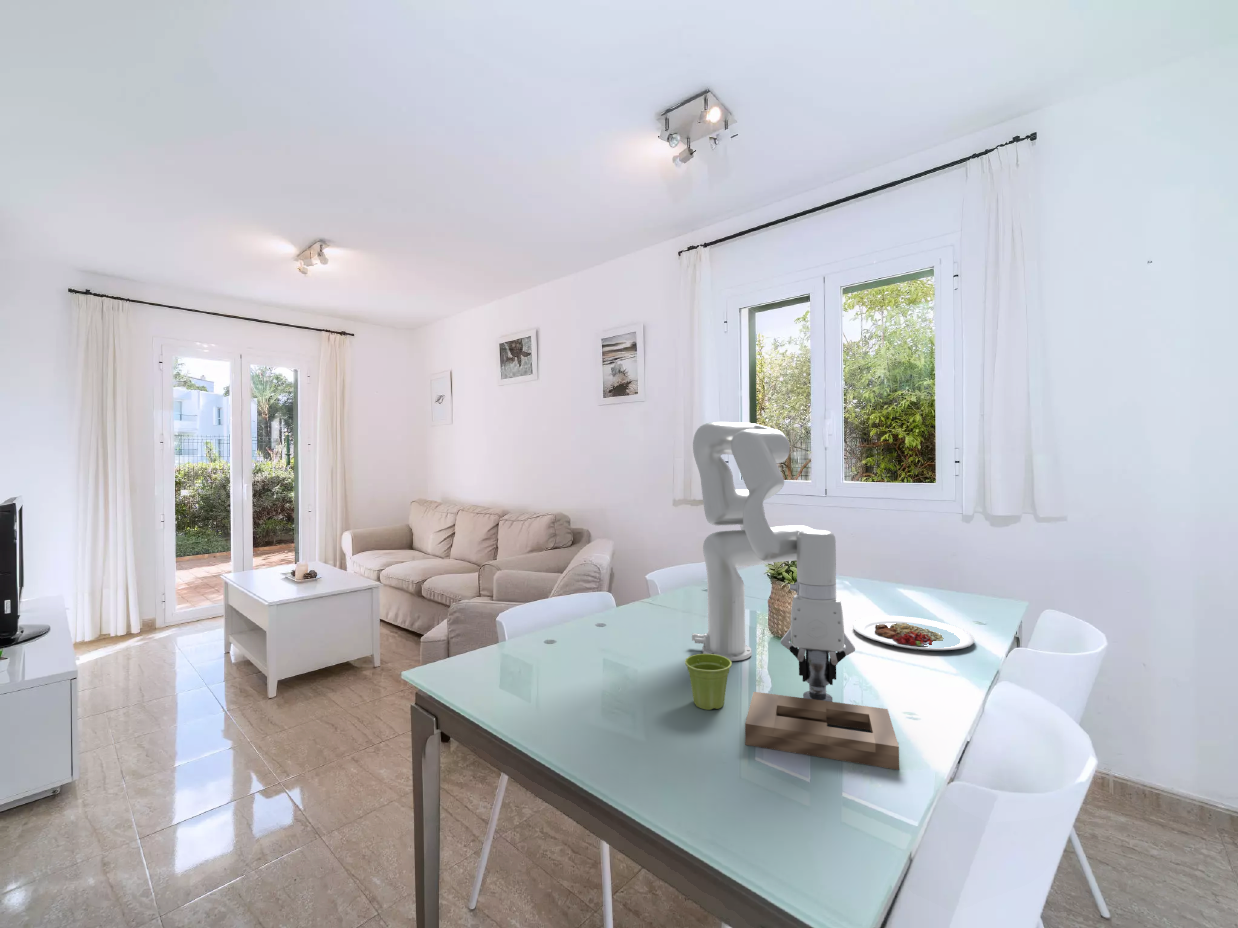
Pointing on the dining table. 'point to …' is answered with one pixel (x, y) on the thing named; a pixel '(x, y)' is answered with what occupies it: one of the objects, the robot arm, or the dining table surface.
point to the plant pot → (708, 679)
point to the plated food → (909, 632)
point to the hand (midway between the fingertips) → (817, 679)
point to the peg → (817, 675)
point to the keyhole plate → (822, 729)
